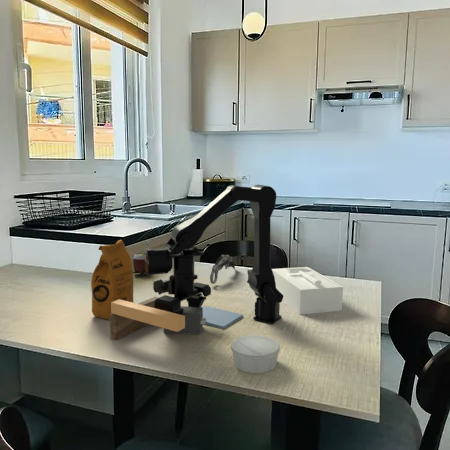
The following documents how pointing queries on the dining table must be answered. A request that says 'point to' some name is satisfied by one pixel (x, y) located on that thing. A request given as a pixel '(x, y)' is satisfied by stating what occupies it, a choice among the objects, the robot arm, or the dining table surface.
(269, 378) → the dining table surface
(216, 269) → the grey curved piece
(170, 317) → the tan wooden bar
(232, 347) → the ramekin
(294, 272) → the tissue box
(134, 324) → the rail
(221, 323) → the pad
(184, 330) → the charcoal wedge block
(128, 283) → the coffee package
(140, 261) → the mate gourd
